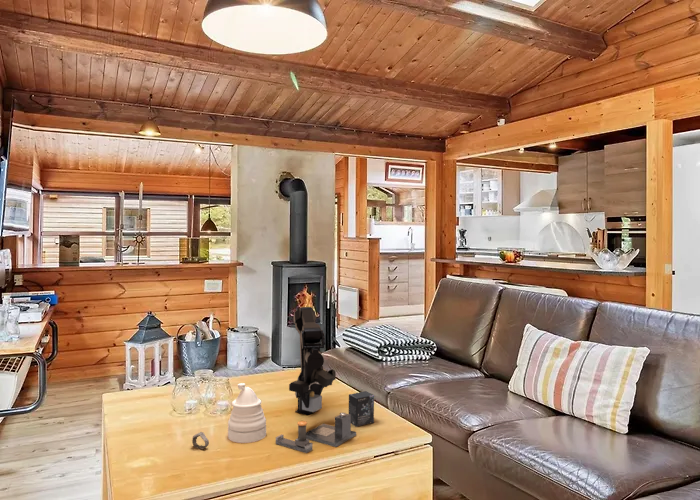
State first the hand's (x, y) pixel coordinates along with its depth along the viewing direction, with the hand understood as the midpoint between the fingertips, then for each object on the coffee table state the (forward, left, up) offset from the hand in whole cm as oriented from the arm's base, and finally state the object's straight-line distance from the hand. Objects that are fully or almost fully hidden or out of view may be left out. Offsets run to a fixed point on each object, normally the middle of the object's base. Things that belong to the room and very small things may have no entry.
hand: (311, 405), depth 183 cm
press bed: (+10, -3, -8) cm, 13 cm away
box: (+12, +14, -8) cm, 20 cm away
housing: (0, 0, -1) cm, 1 cm away
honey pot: (-14, -18, -8) cm, 24 cm away
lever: (+9, -16, -6) cm, 20 cm away
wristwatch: (-19, -34, -8) cm, 40 cm away
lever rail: (+5, -16, -8) cm, 19 cm away
